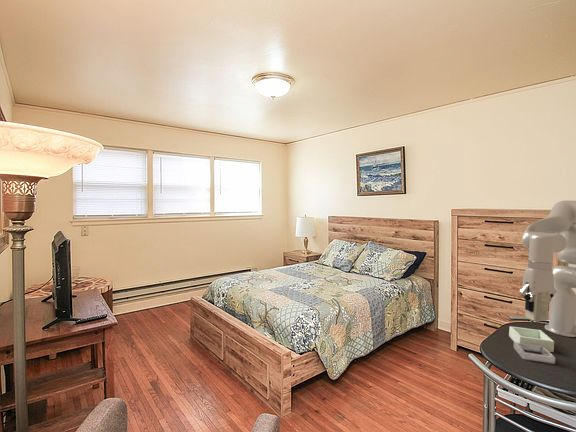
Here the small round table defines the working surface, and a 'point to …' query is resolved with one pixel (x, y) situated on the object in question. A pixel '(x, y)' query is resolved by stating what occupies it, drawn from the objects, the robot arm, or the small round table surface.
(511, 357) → the small round table surface
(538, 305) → the skincare box
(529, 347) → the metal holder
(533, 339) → the sage bin
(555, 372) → the small round table surface
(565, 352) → the small round table surface
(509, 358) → the small round table surface
